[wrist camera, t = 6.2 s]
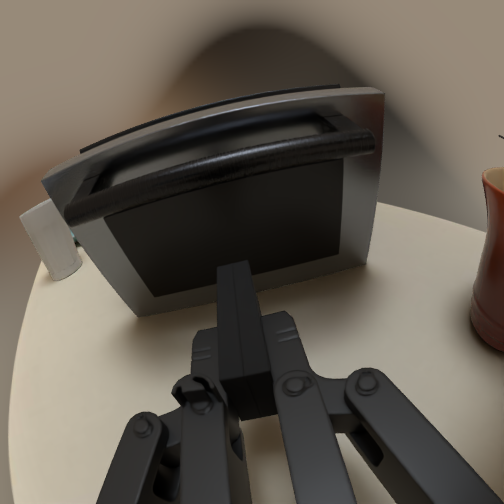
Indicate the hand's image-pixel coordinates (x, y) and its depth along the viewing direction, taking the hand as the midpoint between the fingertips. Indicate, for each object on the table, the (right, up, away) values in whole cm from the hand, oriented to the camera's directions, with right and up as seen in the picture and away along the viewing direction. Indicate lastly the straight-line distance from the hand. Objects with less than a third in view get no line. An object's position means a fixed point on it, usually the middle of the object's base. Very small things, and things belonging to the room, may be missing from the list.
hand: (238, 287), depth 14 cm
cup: (-30, -2, +26) cm, 40 cm away
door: (+1, -3, +10) cm, 11 cm away
